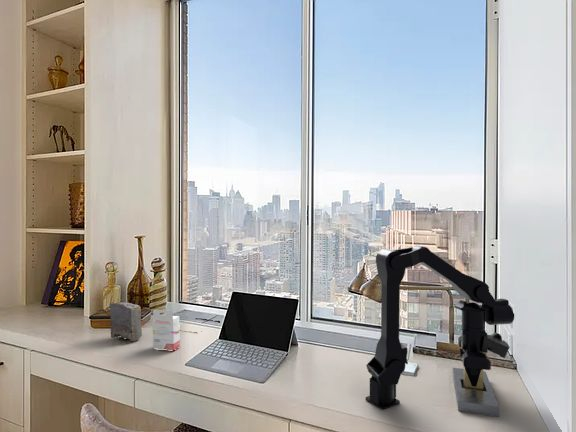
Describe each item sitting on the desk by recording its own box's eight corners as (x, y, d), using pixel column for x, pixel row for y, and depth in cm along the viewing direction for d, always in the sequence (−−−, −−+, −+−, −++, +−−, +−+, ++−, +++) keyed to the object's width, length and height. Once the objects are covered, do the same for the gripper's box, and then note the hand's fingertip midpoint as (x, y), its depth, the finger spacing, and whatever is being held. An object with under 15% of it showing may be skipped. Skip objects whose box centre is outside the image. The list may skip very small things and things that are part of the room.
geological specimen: (142, 339, 152) (142, 301, 152) (130, 344, 147) (130, 304, 147) (121, 336, 156) (121, 298, 156) (109, 340, 151) (108, 302, 151)
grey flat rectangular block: (498, 417, 95) (498, 406, 94) (458, 410, 98) (458, 400, 97) (485, 379, 115) (485, 371, 115) (452, 375, 118) (452, 367, 118)
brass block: (483, 395, 103) (483, 369, 103) (464, 392, 105) (464, 367, 105) (481, 388, 108) (481, 363, 108) (463, 385, 109) (463, 360, 109)
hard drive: (418, 363, 125) (379, 356, 131) (414, 372, 118) (373, 365, 124) (418, 368, 125) (379, 361, 131) (414, 378, 118) (373, 370, 124)
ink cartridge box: (180, 347, 143) (180, 307, 143) (173, 352, 139) (173, 310, 138) (159, 345, 145) (159, 306, 145) (152, 350, 141) (151, 309, 140)
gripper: (514, 339, 95) (513, 403, 95) (500, 319, 112) (500, 373, 112) (464, 334, 98) (463, 396, 99) (458, 315, 116) (457, 367, 116)
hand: (472, 382), depth 106 cm, fingers closed on brass block, 4 cm apart
